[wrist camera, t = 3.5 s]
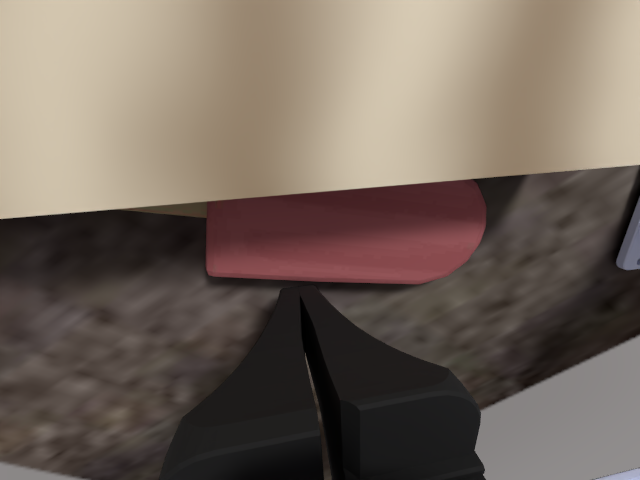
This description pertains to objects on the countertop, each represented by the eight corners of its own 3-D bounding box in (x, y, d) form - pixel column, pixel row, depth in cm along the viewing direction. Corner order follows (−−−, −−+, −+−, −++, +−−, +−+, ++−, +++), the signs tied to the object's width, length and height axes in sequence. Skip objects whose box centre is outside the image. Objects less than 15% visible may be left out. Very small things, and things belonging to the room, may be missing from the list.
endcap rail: (578, -15, 10) (742, -88, 7) (540, 152, 12) (651, 163, 9) (-159, -23, 7) (-554, -159, 4) (-46, 195, 9) (-233, 238, 6)
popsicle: (41, 95, 8) (510, 169, 11) (76, 99, 9) (482, 164, 12) (69, 272, 10) (465, 293, 13) (94, 253, 11) (445, 276, 14)
